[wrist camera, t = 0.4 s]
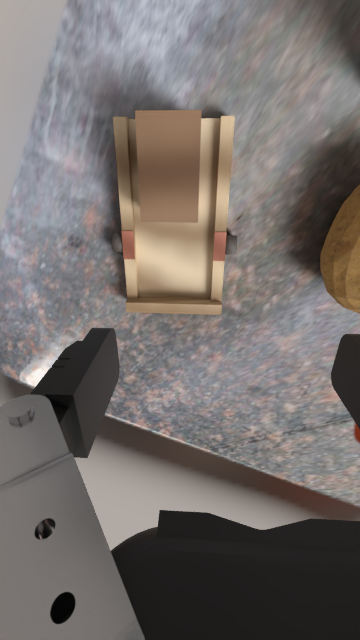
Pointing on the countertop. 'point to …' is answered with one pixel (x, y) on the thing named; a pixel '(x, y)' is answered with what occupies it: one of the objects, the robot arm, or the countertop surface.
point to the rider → (168, 164)
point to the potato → (344, 255)
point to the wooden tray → (176, 230)
